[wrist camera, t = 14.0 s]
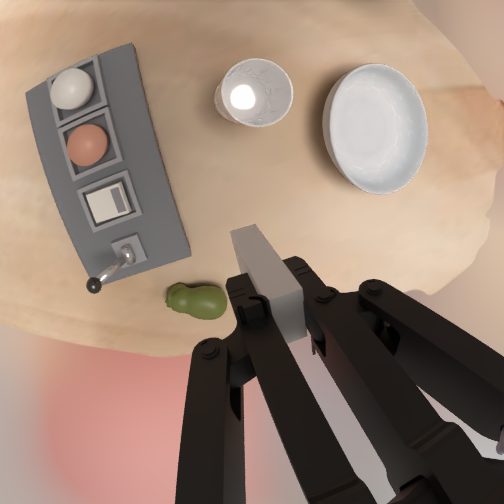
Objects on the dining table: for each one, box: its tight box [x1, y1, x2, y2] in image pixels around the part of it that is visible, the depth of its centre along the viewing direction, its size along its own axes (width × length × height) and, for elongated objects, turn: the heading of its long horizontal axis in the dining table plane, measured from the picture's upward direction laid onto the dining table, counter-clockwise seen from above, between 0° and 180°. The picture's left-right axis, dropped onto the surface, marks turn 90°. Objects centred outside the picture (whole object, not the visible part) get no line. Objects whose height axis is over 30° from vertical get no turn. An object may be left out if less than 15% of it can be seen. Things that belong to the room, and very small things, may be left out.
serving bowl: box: [322, 63, 428, 195], centre depth 37 cm, size 21×21×7 cm
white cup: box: [213, 58, 293, 127], centre depth 30 cm, size 8×8×10 cm
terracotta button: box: [67, 124, 109, 166], centre depth 27 cm, size 5×5×3 cm
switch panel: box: [25, 43, 191, 285], centre depth 31 cm, size 16×31×5 cm, turn 12°
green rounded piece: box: [165, 283, 227, 320], centre depth 44 cm, size 6×5×10 cm
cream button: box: [50, 68, 94, 110], centre depth 23 cm, size 5×5×3 cm
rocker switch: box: [86, 182, 131, 223], centre depth 31 cm, size 5×4×1 cm
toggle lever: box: [86, 245, 136, 294], centre depth 32 cm, size 2×2×8 cm
